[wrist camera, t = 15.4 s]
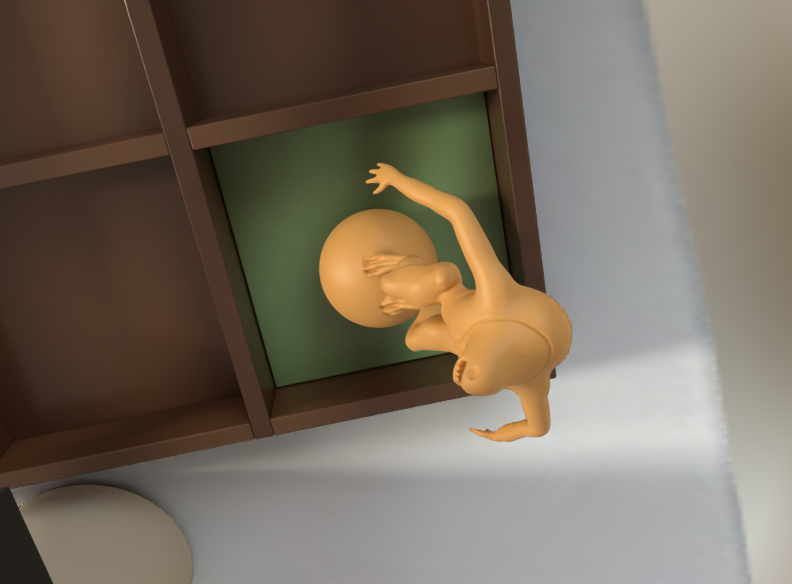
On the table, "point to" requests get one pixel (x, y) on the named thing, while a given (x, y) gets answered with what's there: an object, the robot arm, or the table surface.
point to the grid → (230, 212)
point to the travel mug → (106, 537)
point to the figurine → (448, 300)
